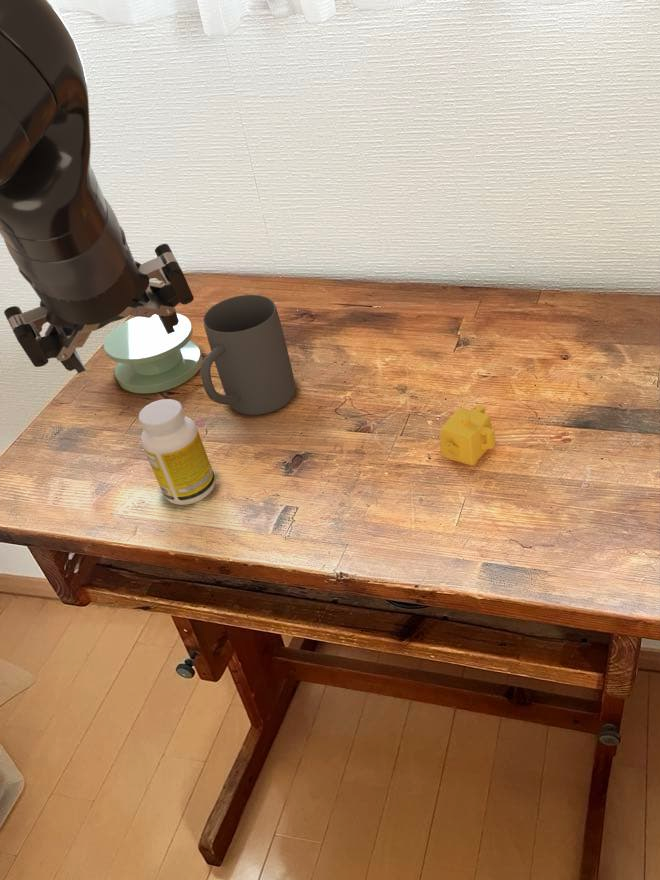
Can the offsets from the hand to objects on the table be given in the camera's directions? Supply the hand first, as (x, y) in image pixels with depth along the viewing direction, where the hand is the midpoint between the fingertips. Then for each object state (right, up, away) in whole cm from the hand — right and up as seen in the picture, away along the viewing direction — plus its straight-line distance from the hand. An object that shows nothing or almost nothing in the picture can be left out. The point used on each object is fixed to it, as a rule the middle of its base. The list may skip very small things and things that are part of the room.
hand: (122, 343), depth 75 cm
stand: (-9, +6, +42) cm, 43 cm away
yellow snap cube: (+33, -8, +20) cm, 40 cm away
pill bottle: (+1, -12, +22) cm, 25 cm away
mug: (+6, 0, +33) cm, 33 cm away
